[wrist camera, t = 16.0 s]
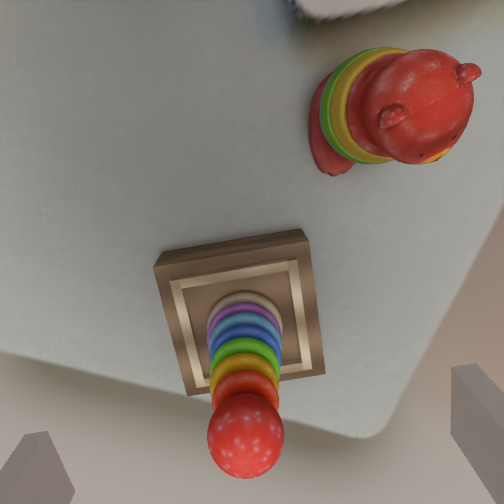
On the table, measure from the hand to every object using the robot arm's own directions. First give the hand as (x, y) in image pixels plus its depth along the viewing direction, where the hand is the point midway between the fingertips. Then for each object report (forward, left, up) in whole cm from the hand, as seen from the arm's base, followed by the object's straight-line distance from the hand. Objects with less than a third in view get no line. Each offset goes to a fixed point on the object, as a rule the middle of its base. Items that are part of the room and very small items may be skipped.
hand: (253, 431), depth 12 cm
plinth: (+10, -2, -32) cm, 33 cm away
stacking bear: (-9, +13, -32) cm, 35 cm away
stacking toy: (+10, -2, -27) cm, 29 cm away
